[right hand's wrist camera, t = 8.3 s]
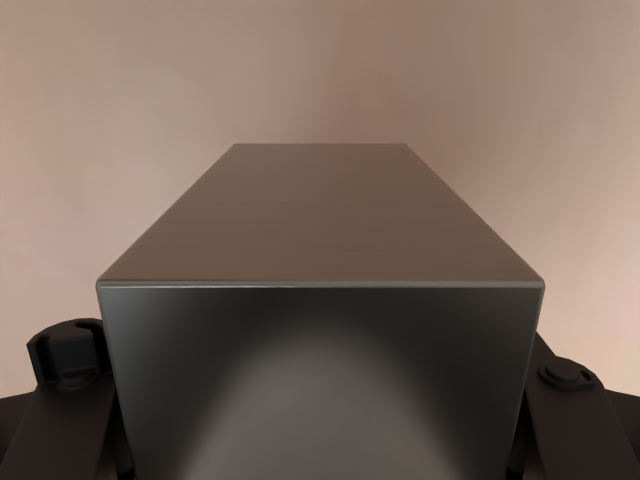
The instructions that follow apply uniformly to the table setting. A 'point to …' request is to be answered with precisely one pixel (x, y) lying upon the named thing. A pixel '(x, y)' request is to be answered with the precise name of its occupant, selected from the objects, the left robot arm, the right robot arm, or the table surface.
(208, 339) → the bar
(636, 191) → the table surface
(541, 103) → the table surface
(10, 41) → the table surface
